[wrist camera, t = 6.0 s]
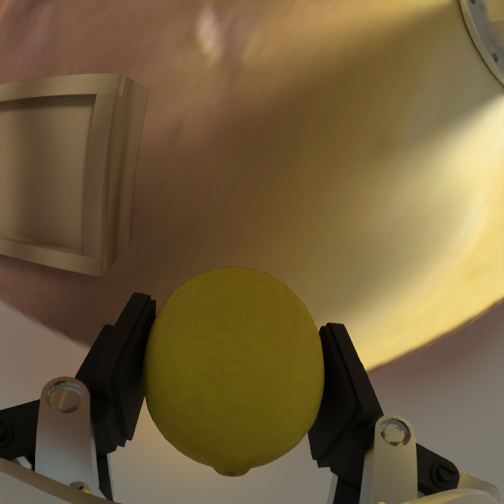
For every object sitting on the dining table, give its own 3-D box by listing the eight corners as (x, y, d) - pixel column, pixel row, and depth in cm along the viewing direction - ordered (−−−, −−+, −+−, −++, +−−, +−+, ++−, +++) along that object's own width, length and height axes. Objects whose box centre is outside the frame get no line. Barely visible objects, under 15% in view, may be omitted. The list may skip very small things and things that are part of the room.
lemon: (189, 216, 11) (107, 372, 4) (321, 258, 12) (403, 421, 5) (161, 325, 13) (114, 480, 6) (272, 354, 14) (290, 507, 7)
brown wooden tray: (149, 89, 15) (120, 73, 10) (129, 244, 18) (101, 277, 14) (27, 92, 14) (-18, 88, 9) (18, 225, 17) (-22, 247, 12)
